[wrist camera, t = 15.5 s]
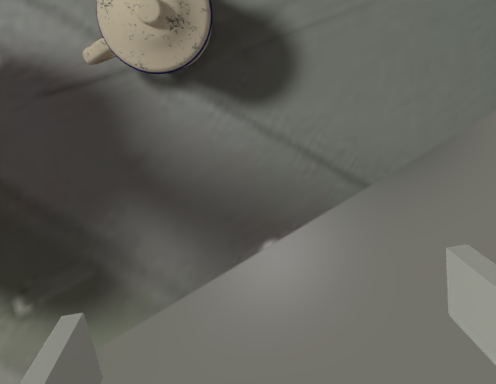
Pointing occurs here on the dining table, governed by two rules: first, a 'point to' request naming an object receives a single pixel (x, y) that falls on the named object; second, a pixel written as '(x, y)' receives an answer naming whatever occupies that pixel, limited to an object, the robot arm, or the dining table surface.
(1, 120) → the dining table surface
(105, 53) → the teacup with lid
